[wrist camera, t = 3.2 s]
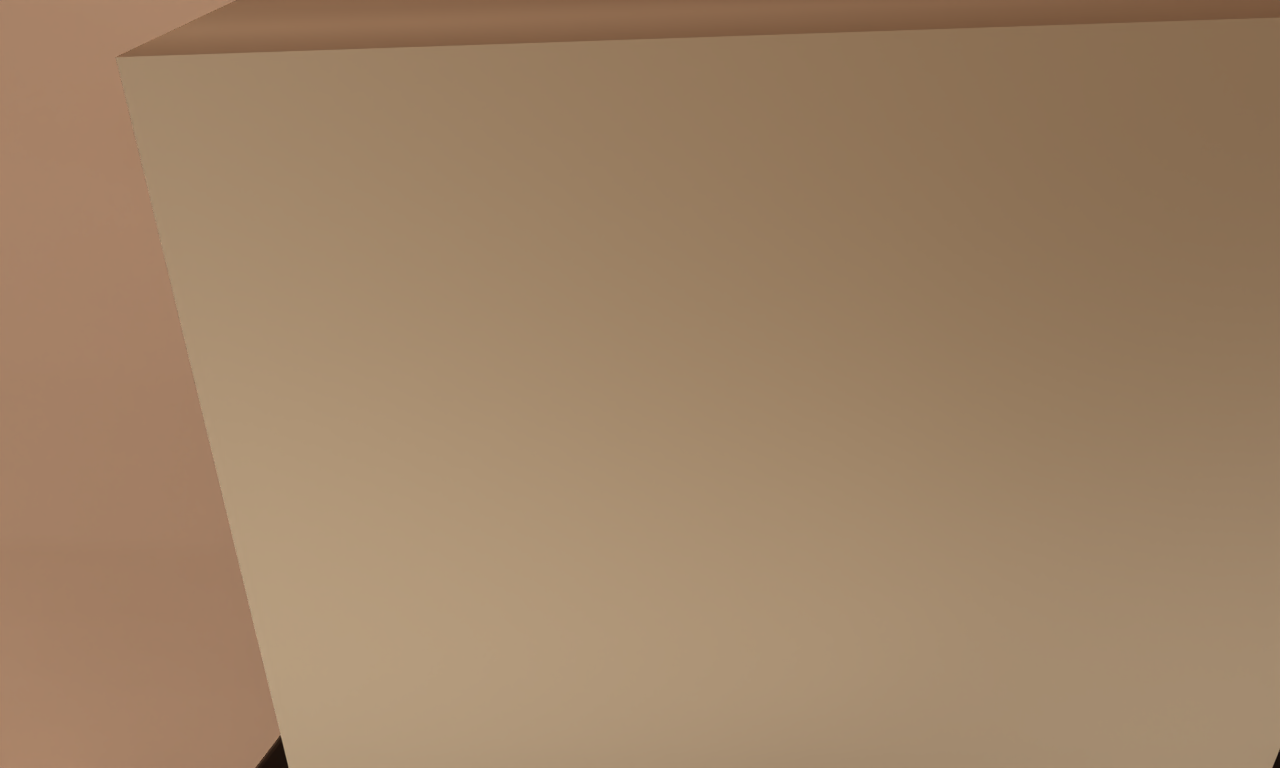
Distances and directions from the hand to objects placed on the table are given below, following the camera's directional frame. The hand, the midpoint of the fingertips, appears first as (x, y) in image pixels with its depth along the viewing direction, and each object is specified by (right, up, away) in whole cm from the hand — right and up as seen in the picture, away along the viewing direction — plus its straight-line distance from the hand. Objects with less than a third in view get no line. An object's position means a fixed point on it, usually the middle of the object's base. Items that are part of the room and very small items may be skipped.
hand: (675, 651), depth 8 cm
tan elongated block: (0, -1, +3) cm, 3 cm away
